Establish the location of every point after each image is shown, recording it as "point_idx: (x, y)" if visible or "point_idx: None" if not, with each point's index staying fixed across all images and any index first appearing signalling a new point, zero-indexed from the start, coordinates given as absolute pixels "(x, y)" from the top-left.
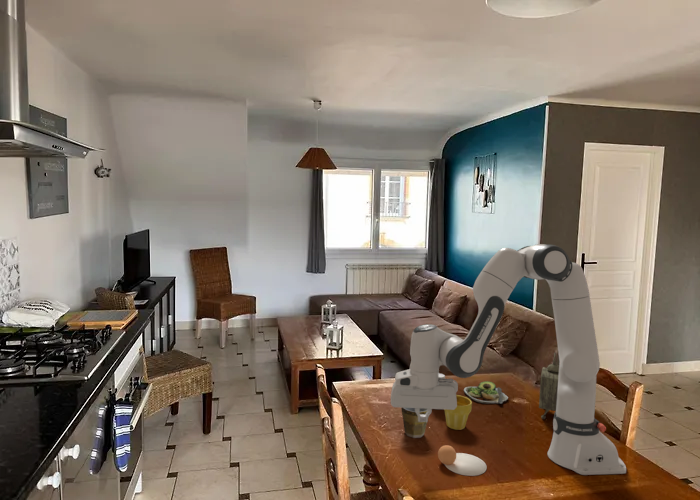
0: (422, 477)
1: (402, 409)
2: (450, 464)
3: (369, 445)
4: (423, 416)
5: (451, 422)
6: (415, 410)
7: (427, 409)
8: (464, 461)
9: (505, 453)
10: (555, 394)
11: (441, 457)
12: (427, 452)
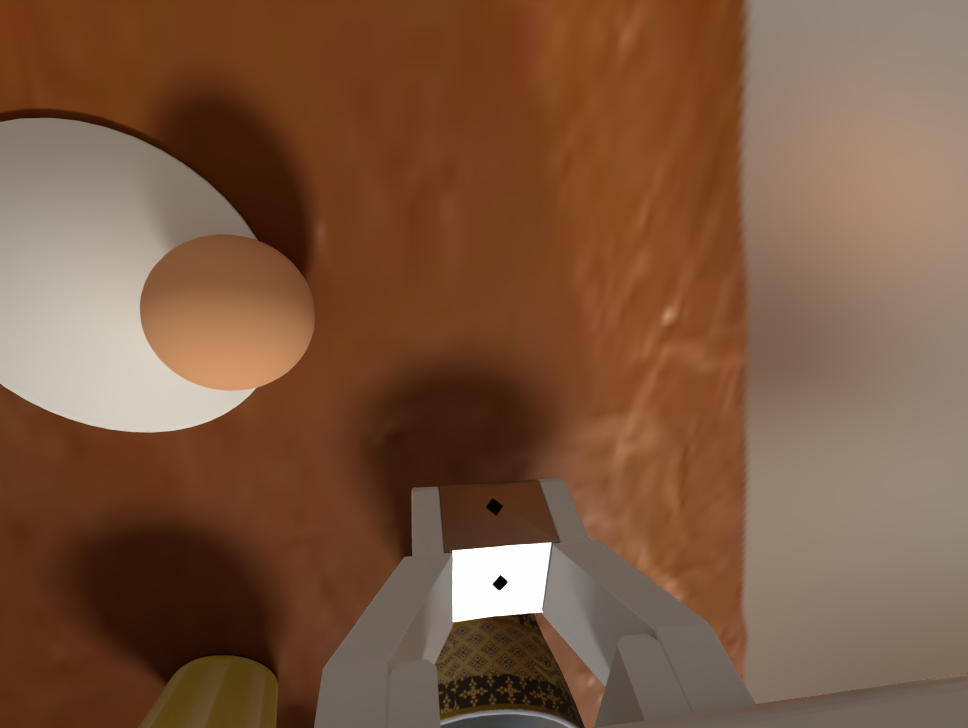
0: (453, 46)
1: (581, 720)
2: None
3: (742, 426)
4: (494, 560)
5: (237, 694)
6: (709, 643)
7: (432, 723)
8: (117, 329)
9: None
10: None
11: (281, 261)
12: (395, 409)
